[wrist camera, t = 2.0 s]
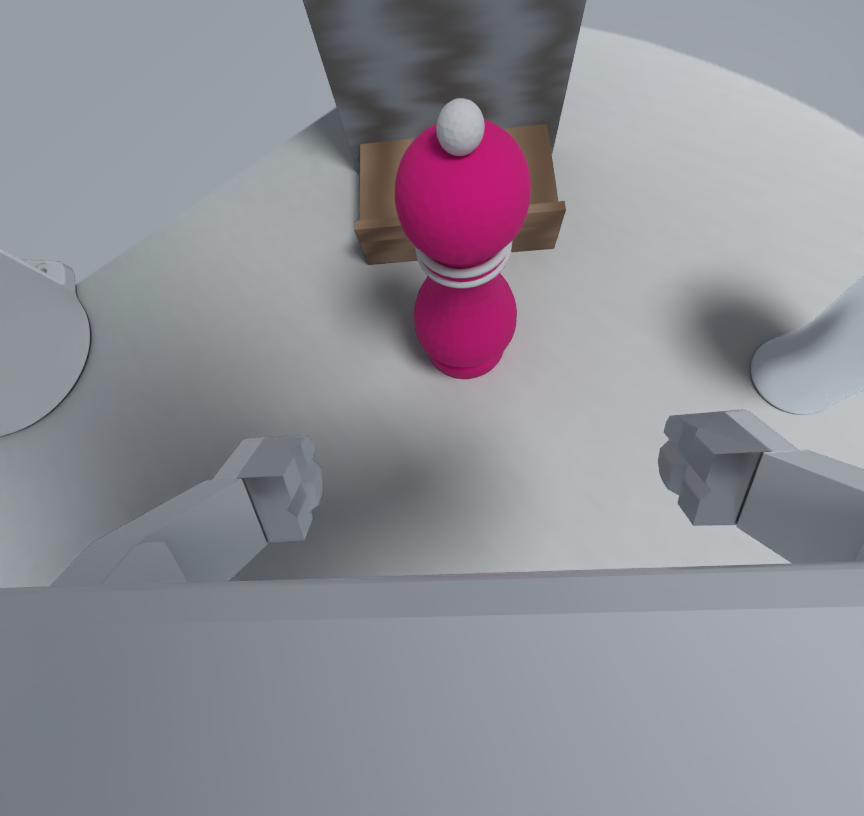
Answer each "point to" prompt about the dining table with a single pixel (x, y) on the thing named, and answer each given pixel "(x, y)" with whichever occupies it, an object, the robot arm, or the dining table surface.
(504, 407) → the dining table surface
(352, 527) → the dining table surface
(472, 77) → the ledge shelf
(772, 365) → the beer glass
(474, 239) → the pepper mill
